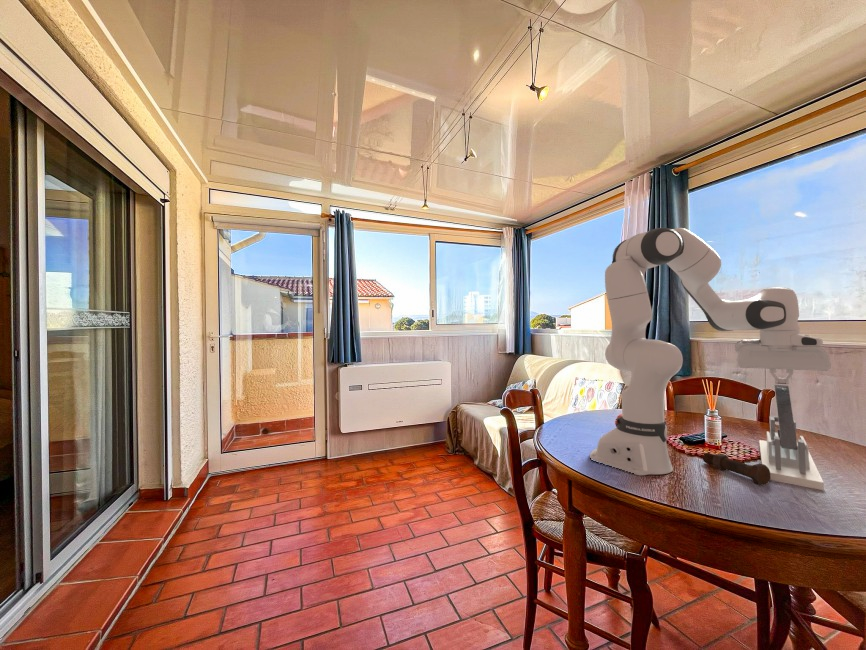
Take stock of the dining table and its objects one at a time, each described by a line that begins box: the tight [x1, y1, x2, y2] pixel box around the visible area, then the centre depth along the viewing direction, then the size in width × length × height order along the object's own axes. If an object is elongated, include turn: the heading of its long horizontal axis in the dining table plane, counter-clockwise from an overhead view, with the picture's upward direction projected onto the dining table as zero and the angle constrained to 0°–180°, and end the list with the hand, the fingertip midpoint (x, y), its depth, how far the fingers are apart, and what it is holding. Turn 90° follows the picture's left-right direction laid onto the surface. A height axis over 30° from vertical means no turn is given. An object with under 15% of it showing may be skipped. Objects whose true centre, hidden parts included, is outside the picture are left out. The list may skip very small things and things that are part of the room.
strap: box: [774, 384, 798, 450], centre depth 100 cm, size 3×24×1 cm
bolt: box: [702, 452, 771, 486], centre depth 97 cm, size 6×5×15 cm
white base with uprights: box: [758, 415, 825, 491], centre depth 101 cm, size 11×32×11 cm, turn 137°
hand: (781, 383), depth 106 cm, fingers closed
